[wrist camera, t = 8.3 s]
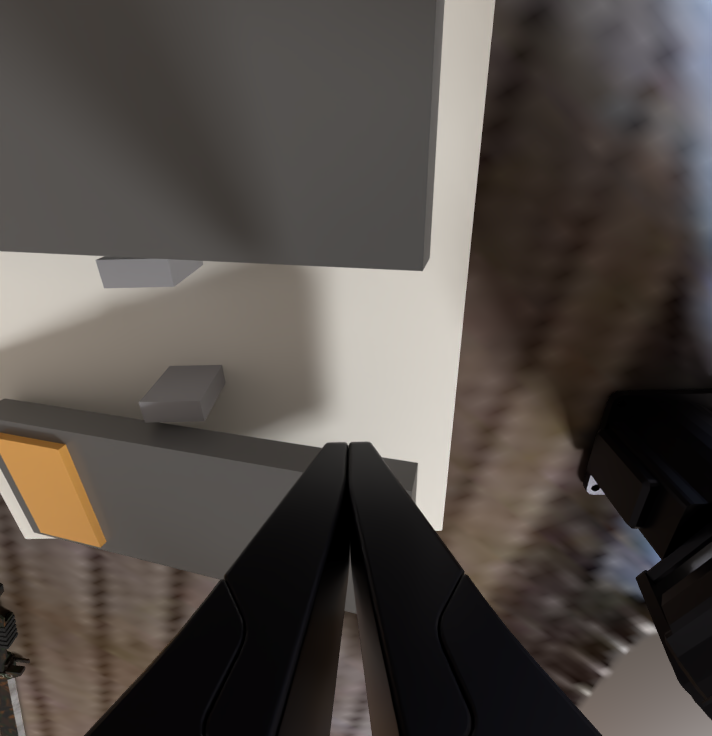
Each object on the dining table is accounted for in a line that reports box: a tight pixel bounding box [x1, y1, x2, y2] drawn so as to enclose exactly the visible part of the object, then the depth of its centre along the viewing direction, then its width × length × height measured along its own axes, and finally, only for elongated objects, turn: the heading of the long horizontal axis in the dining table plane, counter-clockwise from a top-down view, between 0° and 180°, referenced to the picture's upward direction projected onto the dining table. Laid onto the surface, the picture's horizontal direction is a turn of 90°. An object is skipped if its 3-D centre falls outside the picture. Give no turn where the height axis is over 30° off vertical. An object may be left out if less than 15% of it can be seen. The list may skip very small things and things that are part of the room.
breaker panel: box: [0, 0, 495, 539], centre depth 16 cm, size 20×22×7 cm
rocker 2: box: [0, 398, 418, 614], centre depth 15 cm, size 16×6×2 cm, turn 92°
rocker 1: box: [0, 0, 445, 271], centre depth 10 cm, size 16×6×2 cm, turn 92°
